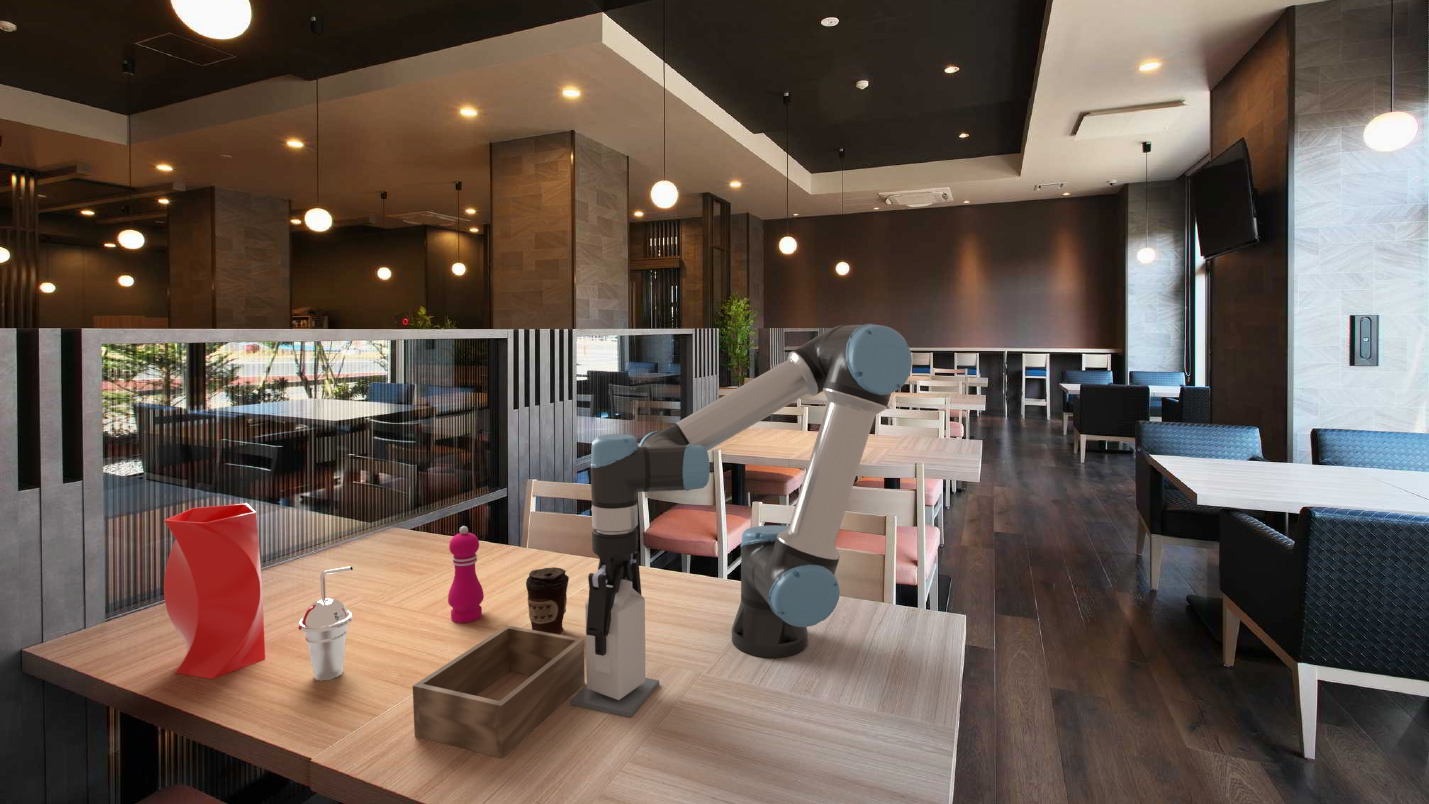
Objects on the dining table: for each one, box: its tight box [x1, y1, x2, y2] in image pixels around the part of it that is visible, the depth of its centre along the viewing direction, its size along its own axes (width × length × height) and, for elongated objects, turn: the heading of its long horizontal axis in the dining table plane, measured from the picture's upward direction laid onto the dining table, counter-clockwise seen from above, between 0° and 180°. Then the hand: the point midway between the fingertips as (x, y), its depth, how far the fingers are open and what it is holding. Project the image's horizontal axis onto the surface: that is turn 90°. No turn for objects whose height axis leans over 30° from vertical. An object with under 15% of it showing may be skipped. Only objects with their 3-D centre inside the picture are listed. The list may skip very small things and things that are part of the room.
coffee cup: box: [525, 567, 570, 635], centre depth 141 cm, size 9×8×13 cm
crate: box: [412, 624, 586, 759], centre depth 113 cm, size 16×23×8 cm
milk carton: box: [584, 579, 646, 700], centre depth 117 cm, size 7×7×19 cm
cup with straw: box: [297, 566, 354, 682], centre depth 123 cm, size 8×9×20 cm
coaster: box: [570, 677, 660, 718], centre depth 118 cm, size 11×11×1 cm
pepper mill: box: [447, 525, 485, 624], centre depth 148 cm, size 7×7×20 cm
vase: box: [163, 503, 266, 680], centre depth 129 cm, size 15×14×28 cm
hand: (616, 659), depth 117 cm, fingers closed on milk carton, 8 cm apart
